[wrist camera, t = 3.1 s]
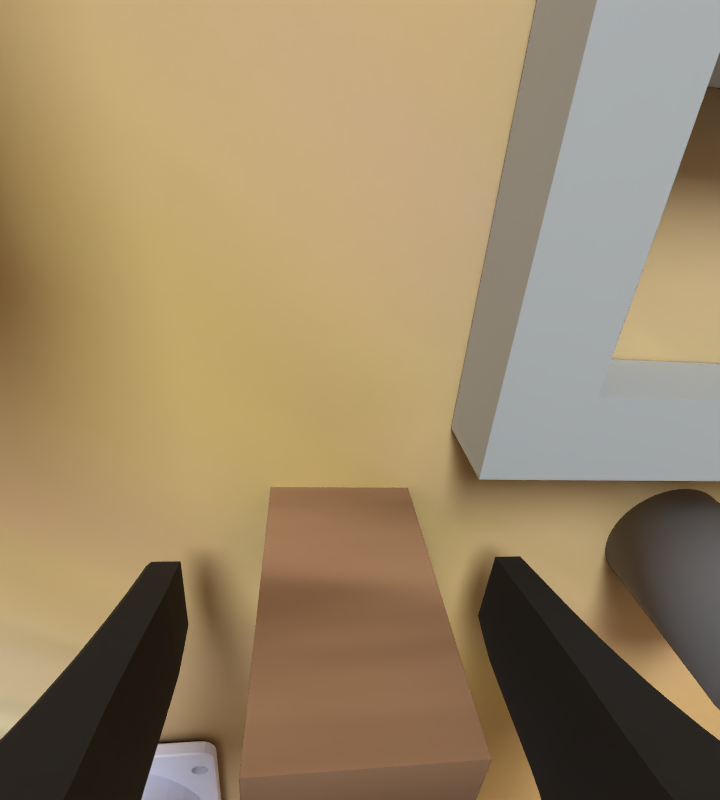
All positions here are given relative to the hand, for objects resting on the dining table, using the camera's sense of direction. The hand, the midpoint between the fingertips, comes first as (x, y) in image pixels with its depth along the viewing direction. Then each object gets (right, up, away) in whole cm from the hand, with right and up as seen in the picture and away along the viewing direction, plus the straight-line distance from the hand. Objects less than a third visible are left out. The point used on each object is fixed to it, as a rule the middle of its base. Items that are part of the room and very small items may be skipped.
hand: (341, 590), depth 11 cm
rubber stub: (+9, 0, +3) cm, 10 cm away
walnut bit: (0, +1, +1) cm, 2 cm away
